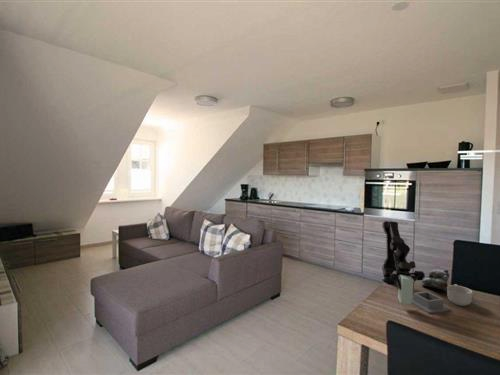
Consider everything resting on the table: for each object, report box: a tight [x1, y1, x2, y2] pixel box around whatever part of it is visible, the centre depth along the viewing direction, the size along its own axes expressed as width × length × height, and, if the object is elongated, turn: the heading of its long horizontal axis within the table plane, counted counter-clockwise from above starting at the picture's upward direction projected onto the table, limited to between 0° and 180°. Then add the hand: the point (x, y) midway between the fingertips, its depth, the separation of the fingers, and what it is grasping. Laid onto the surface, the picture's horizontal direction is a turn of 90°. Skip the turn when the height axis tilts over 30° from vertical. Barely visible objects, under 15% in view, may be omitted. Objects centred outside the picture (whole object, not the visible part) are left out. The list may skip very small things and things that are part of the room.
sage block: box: [397, 275, 415, 305], centre depth 136 cm, size 5×5×13 cm
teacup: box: [446, 283, 473, 307], centre depth 144 cm, size 14×11×8 cm
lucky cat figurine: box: [420, 268, 450, 293], centre depth 161 cm, size 15×12×14 cm
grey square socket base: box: [412, 291, 452, 315], centre depth 140 cm, size 14×14×5 cm
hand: (406, 290), depth 134 cm, fingers closed on sage block, 5 cm apart
